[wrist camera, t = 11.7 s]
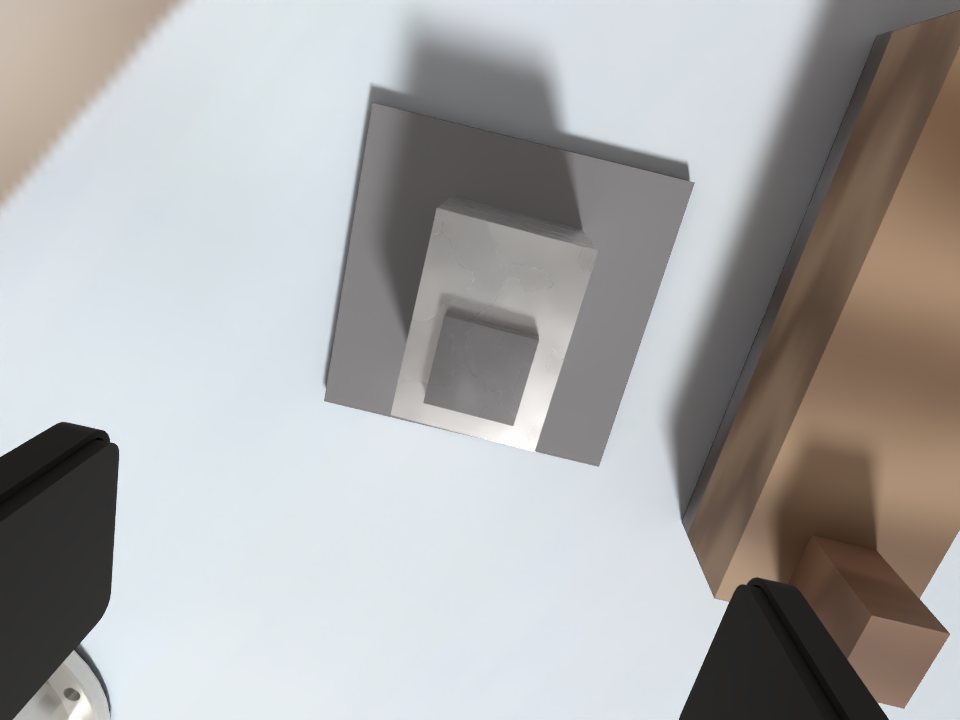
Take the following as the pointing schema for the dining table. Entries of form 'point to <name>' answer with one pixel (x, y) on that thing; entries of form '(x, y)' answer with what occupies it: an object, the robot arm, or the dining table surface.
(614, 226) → the rubber mat
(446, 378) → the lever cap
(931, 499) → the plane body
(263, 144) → the dining table surface
